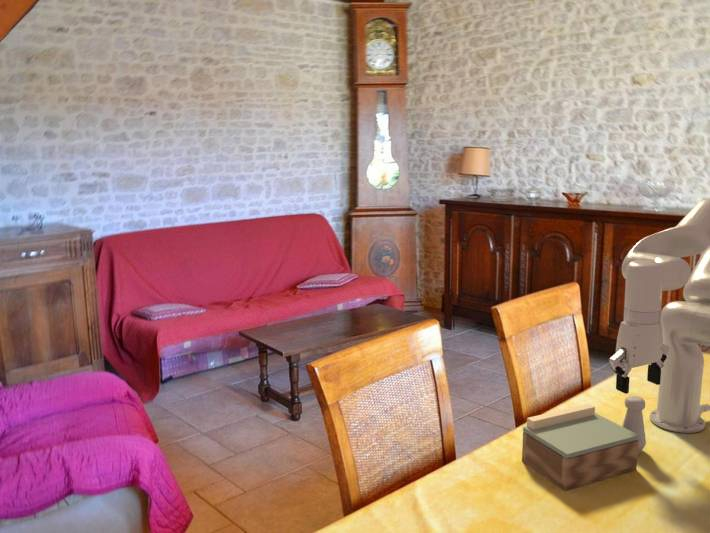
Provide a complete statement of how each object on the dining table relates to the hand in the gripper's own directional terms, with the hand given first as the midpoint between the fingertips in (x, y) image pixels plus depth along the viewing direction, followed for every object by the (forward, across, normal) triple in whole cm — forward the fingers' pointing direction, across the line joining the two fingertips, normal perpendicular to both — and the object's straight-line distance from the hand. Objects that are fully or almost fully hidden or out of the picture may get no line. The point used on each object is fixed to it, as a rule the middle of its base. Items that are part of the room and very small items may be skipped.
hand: (638, 387), depth 147 cm
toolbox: (+15, +17, 0) cm, 23 cm away
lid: (+8, +17, 0) cm, 19 cm away
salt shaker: (+16, +1, 0) cm, 16 cm away
